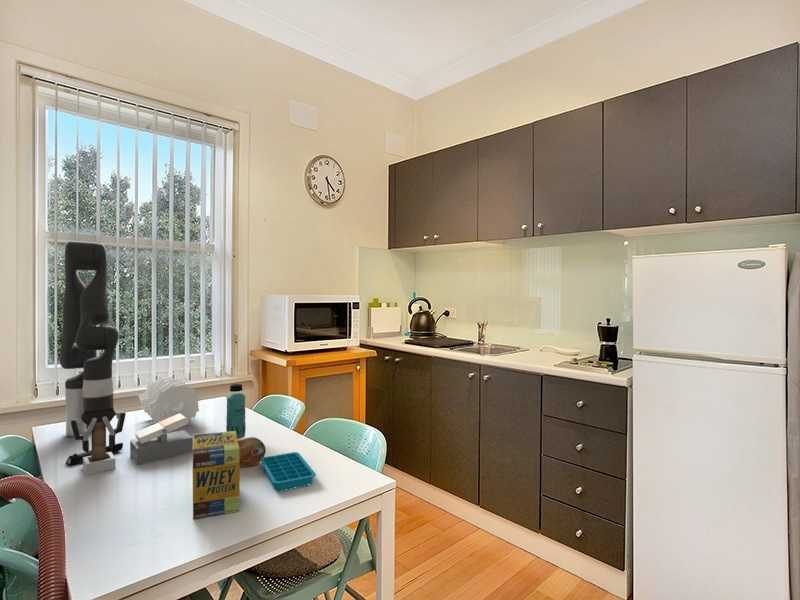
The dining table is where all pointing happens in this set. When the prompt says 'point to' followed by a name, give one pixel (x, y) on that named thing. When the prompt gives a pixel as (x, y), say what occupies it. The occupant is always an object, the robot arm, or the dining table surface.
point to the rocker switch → (161, 428)
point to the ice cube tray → (287, 470)
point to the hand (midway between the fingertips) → (98, 449)
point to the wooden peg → (98, 441)
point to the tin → (250, 451)
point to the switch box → (161, 447)
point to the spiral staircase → (169, 399)
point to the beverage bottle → (236, 411)
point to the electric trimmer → (90, 454)
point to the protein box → (215, 474)
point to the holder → (98, 464)
